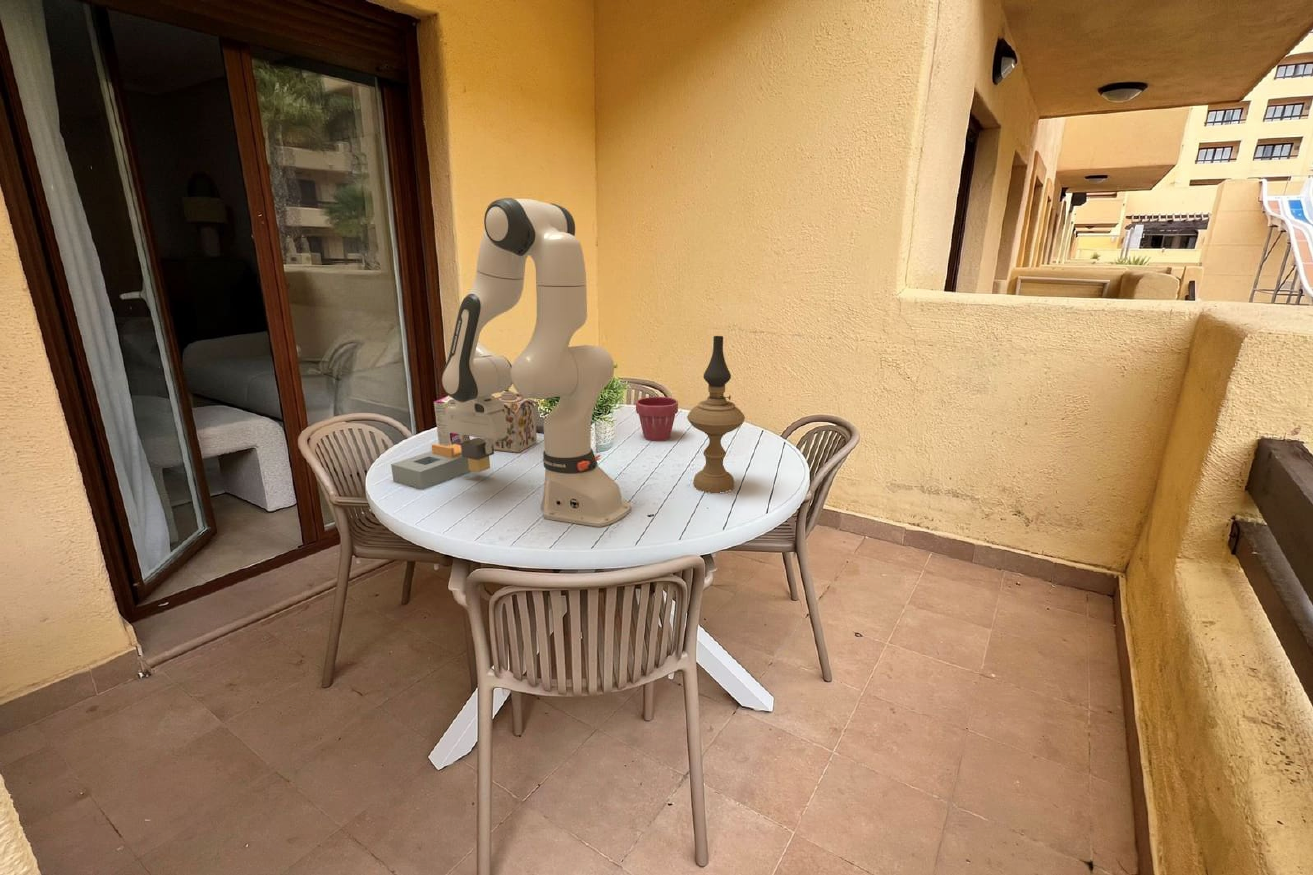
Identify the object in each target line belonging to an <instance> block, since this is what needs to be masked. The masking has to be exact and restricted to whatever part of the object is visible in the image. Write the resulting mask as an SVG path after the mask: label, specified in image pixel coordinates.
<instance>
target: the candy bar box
mask: <svg viewBox="0 0 1313 875" xmlns="http://www.w3.org/2000/svg"><path fill="white" fill-rule="evenodd" d="M451 399H452V400H455V399H453V398H451V397H450V396H449V395H447V396H445V397H442V398H440V399H438V400H437V399H436V400H435V401H433V408H434V409H433V410H434V415H435V416H434V417H435V423H436V432H437V438H438V440H437V441H438V445H443V446H448V445H453V444H457V445H461V443H462V441H461V439H460V437H459V434H455V433H449V432H448V431H447V429H446V423H445V413H446V409H447V408H446V404H447V402H448V401H449V400H451ZM470 438H471V437H470V436H468V439H469V440H471V439H470Z"/></svg>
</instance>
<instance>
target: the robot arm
mask: <svg viewBox="0 0 1313 875" xmlns="http://www.w3.org/2000/svg"><path fill="white" fill-rule="evenodd" d="M483 218H484V219H483V224H484V231H483V233H482V237H481V240H480V243H479V244H480V245H479V250H478V255H477V261H476V271H475V272H476V273H475V276H474V281H473V284H472V286H471V289H470V291H469V292H468V294H467V295H466V296H465V297H464V298H463V299H462V301H461V304H460V307H459V309H458V314H457V317H456V321H455V327H454V331H453V335H452V336H453V337H452V341H451V345H450V349H449V353H448V354H449V355H448V357H447V361H446V362H445V366H444V368H443V371H442V373H441V385H442V389H443V390H444V392H445V393H446V394H447V396H450V397H451V398H453V399H455V400H452V399H451V400H449V401H448V402H447V404H446V408H447V409H446V413H445V423H446V429H447V431H448V432H449V433H455V434H459V437H460V439H461V441H462V442H465V441H468V440H469V439H468V436H469V437H473V438H474V437H475V438H483V439H484V440H485V442H486V445H485V447H483V453H485V454H490V453H491V452H492V448H491V447H492V445H493V442H494V440H501V439H503V438H505V437H506V435H507V423H506V417H505V414H504V412H503V411H502V409H504V403H503V402H502V401H501V400H499V399H497V398H496V397H495V396H494V395H493V394H498V393H499V394H500V393H503V392H505V390H509V389H510V388H511V386H513V388H514V390H515V392H516V393H517V394H519V395H521V396H522V397H524V398H528V399H532V400H533V399H535V400H537V399H547V398H557V397H559V401H558V402H557V404H556V406H555V408H554V409H553V410H552V411H551V412H550V413H549V414H548V415H547V416H546V418H545V420H544V424H543V428H544V432H543V440H544V441H543V442H544V450H543V452H542V455H543V456H542V457H543V459H542V462H543V467H544V468H545V475H544V488H543V490H544V491H543V496H542V501H541V504H540V508H541V510H542V511H543V512H542V517H543V519H546V520H554V521H560V522H566V523H571V524H577V525H578V524H579V525H584V526H590V527H596V528H600V527H604V526H608V525H611V524H614V523H616V522H618V521H619V520H621V519H622V518H624V517H625V516H627V515H628V514H629V513H630V511H631V510H632V503H631V502H628V501H626V500H624V499H622V492H621V489H620V486H619V484H618V483H617V482H616V481H615V480H614V479H612V477H610V476H609V475H608V474H607V473H606V472H605V471H604V470H603V469H602V468H601V467H600V466H599V464H598V461H599V460H601V459H602V458H601V454H599V455H596V456H595V453H594V451H593V449H592V442H591V441H592V438H591V437H592V436H591V435H592V432H591V431H592V418H593V412H594V410H595V406H596V404H597V402H598V399H599V397H600V395H601V393H602V392H603V390H604V389H605V388H606V387H607V386H608V385H610V384H609V383H611V381H612V379H613V377H614V373H615V362H614V360H613V357H612V355H611V353H610V352H609V351H608V350H607V349H606V348H604V347H602V346H596V345H589V344H587V345H586V344H583V345H575V346H574V345H572V346H570V342H571V339H572V337H573V336H574V335H575V333H576V332H577V331H578V330H579V329H581V328H582V327H583V326H584V325H585V324H586V321H587V319H588V297H587V295H588V294H587V293H588V292H587V288H588V287H587V273H586V272H587V271H586V263H585V258H584V252H583V246H582V244H581V241H580V240H579V239H578V237H576V236H575V235H576V224H575V223H576V222H575V220H574V216H573V215H572V214H571V212H570V211H569V210H568V209H566V208H565V207H564V206H561V205H559V204H556V203H554V202H553V203H552V202H551V203H548V202H544V201H541V200H540V201H539V200H536V199H531V198H512V197H504V198H499V199H496V200H494V201H491V203H490V204H489V205H488V206H487V208H486V210H485V213H484V217H483ZM528 257H530V258H531V259H532V261H533V263H534V265H535V266H534V268H535V285H536V286H535V287H536V288H535V289H536V293H535V294H536V319H535V326H534V328H533V332H532V335H531V338H530V340H529V342H528V343H527V345H526V346H525V348H524V350H523V351H522V352H521V353H520V354H519V355H517V357H516V358H515V359H514V361H513V362H512V364H511V362H510V361H509V359H508V358H506V357H504V356H502V355H499V354H495V353H493V352H492V351H490V350H489V349H487V348H486V347H485V346H484V344H483V343H482V342H481V341H479V338H480V334H481V332H482V330H483V328H484V327H485V326H486V325H487V324H488V323H489V322H490V321H491V322H492V320H494V319H495V318H496V317H498V316H500V315H502V314H504V313H507V312H508V311H510V310H511V309H513V308H514V307H515V306H516V305H517V304H518V303H519V302H520V300H521V297H522V295H523V291H524V283H525V275H526V274H525V273H526V264H527V263H526V262H527V260H528V259H527V258H528Z"/></svg>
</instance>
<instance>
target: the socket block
mask: <svg viewBox="0 0 1313 875" xmlns="http://www.w3.org/2000/svg"><path fill="white" fill-rule="evenodd" d="M448 446H450V445H448ZM390 467H391V468H390V469H391V474H392V475H391V476H392V481H393V482H394V481H395V483H398V484H401V485H405V486H408V487H412V488H416V489H418V490H422V491H423V490H426V489H428V488H430V487H433V486H436V485H438V484H441V483H443V482H446V481H449V480H452V479H455V478H457V477H459V476H462V475H465V474H467V473H469V472H471V471H470V470H469V465H468V458H465V457H462V454H461V455H458V456H455V457H452V458H451V457H447V456H442V455H438V454H434V453H432V450H431V451H427V452H424V453H422V454H421V453H420V454H418V455H415V456H412V457H408V458H406V459H403V460H399V461H397V462H394V463H391V464H390Z"/></svg>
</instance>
